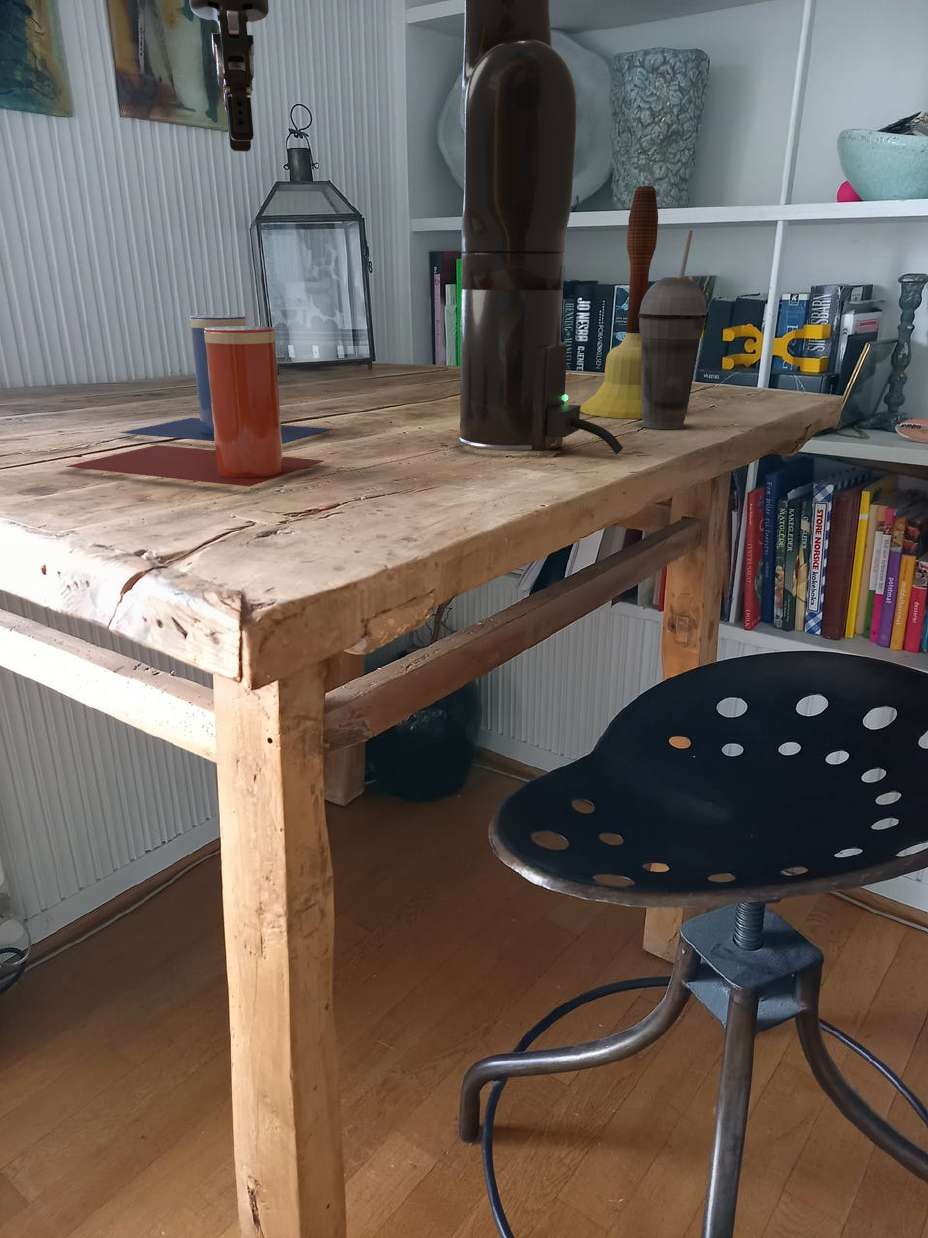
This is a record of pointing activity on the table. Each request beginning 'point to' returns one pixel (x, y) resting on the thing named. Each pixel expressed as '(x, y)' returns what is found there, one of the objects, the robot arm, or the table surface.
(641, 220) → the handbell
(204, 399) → the blue tumbler
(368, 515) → the table surface
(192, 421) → the blue mat
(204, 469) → the red mat
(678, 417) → the beverage cup
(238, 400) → the cylinder
